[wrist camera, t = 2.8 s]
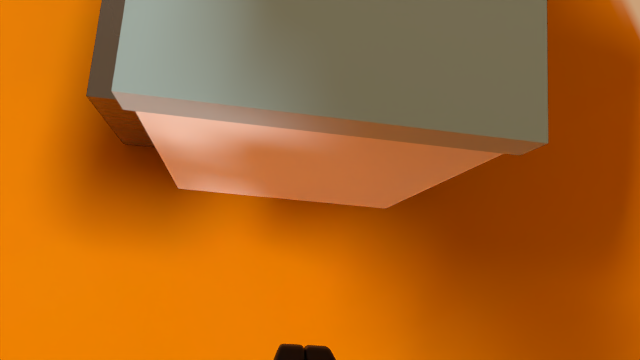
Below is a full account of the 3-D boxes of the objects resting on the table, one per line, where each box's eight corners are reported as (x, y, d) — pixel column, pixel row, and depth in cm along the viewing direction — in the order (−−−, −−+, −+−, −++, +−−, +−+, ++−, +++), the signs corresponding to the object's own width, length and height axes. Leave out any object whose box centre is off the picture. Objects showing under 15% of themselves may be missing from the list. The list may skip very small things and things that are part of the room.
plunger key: (388, 212, 16) (548, 143, 8) (174, 191, 15) (111, 90, 7) (396, 48, 17) (545, -159, 9) (195, 20, 16) (162, -239, 8)
